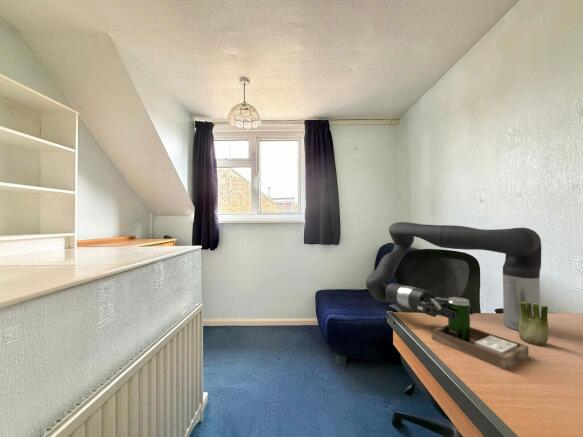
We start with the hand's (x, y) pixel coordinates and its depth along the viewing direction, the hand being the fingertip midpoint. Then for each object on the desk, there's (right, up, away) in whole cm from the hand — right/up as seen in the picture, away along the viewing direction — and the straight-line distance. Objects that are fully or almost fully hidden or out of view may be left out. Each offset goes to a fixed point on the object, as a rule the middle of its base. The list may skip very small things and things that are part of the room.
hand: (464, 313), depth 74 cm
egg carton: (+4, -8, -7) cm, 11 cm away
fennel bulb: (+20, -9, 0) cm, 22 cm away
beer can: (-1, -9, +1) cm, 9 cm away
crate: (+2, -9, -3) cm, 10 cm away
